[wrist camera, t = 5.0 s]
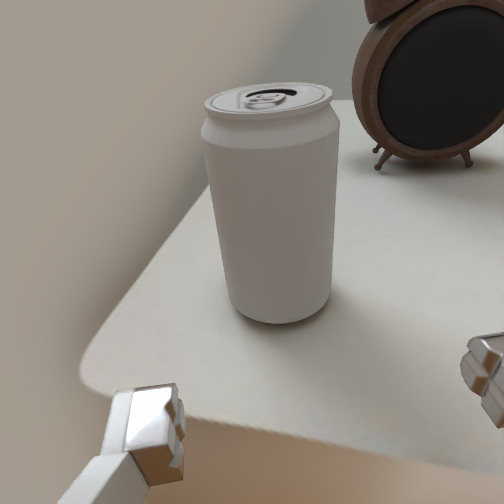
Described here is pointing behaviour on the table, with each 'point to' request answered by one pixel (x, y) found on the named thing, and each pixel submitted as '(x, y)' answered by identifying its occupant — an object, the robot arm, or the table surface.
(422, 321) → the table surface
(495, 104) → the alarm clock
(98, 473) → the robot arm
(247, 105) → the beverage can
